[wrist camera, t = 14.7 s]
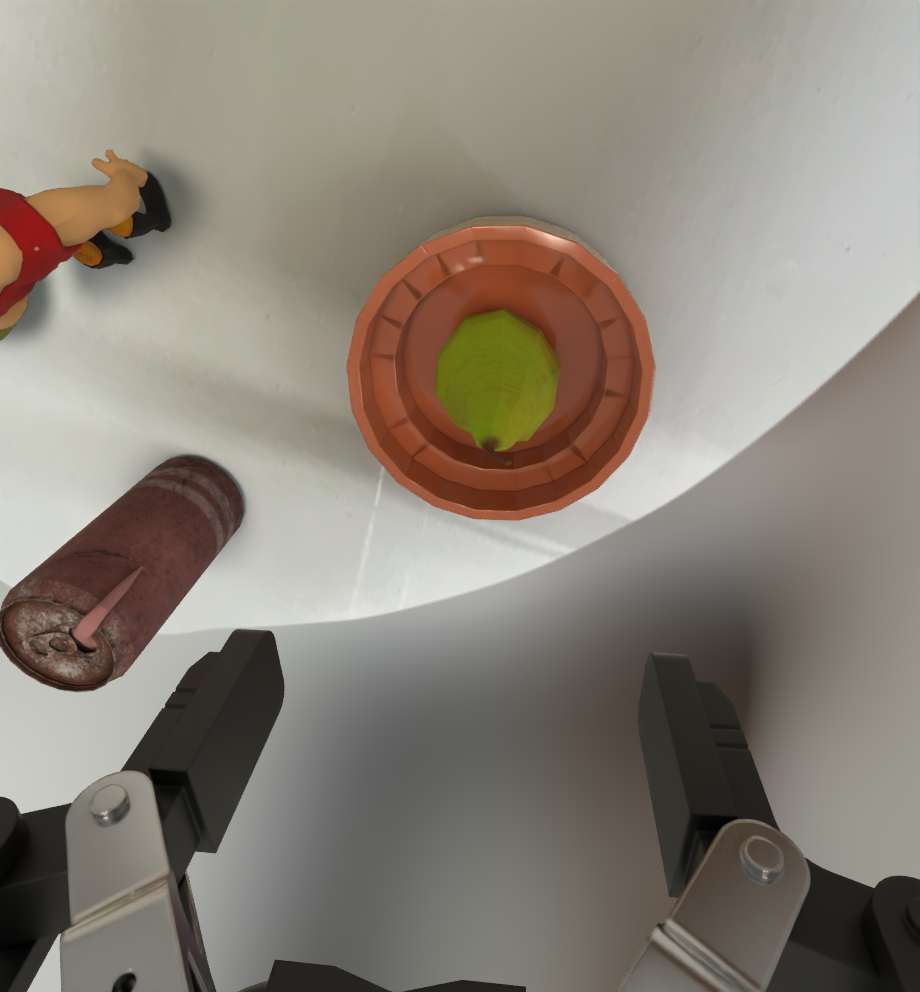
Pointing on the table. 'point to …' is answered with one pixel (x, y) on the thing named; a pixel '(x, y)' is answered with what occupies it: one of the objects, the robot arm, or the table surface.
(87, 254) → the action figure
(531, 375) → the fruit
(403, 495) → the table surface
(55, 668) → the can
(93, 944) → the robot arm
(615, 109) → the table surface
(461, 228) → the bowl
